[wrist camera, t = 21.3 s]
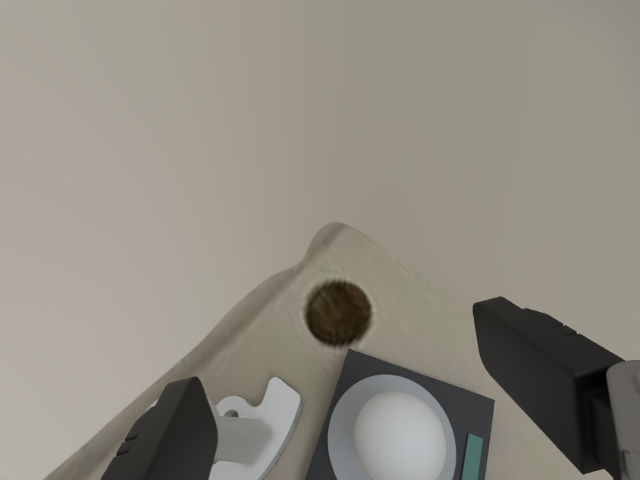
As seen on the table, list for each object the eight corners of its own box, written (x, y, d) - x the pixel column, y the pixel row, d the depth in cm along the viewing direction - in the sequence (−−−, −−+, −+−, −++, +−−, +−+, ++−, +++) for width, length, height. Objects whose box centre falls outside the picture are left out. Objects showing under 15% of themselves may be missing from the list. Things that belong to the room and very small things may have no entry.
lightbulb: (444, 455, 30) (478, 455, 20) (386, 502, 28) (394, 526, 19) (397, 390, 33) (408, 364, 23) (343, 431, 32) (332, 421, 22)
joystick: (240, 516, 32) (93, 587, 15) (186, 458, 35) (10, 462, 18) (313, 405, 36) (262, 362, 19) (258, 362, 39) (172, 290, 22)
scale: (464, 569, 28) (474, 581, 26) (305, 491, 32) (299, 494, 29) (487, 403, 34) (497, 399, 31) (350, 354, 38) (348, 346, 35)
